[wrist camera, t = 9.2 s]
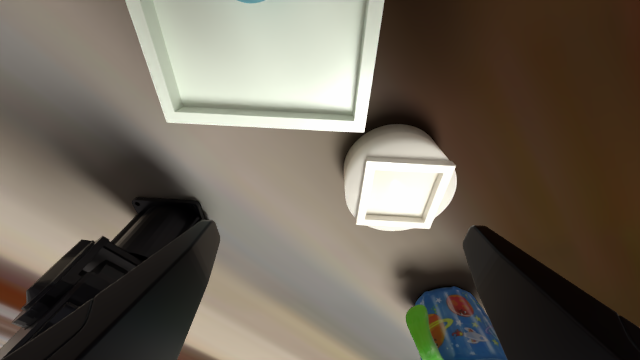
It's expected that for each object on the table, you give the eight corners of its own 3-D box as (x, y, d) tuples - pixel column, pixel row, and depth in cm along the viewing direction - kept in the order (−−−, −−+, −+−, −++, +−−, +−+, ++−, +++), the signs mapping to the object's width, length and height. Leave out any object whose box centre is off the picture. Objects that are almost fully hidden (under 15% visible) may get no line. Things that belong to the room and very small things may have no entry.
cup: (339, 201, 23) (341, 233, 20) (348, 121, 19) (352, 145, 15) (423, 206, 23) (439, 239, 20) (453, 126, 18) (479, 152, 15)
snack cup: (507, 310, 33) (567, 411, 24) (436, 332, 37) (466, 425, 29) (450, 254, 27) (504, 363, 18) (374, 289, 31) (389, 390, 23)
